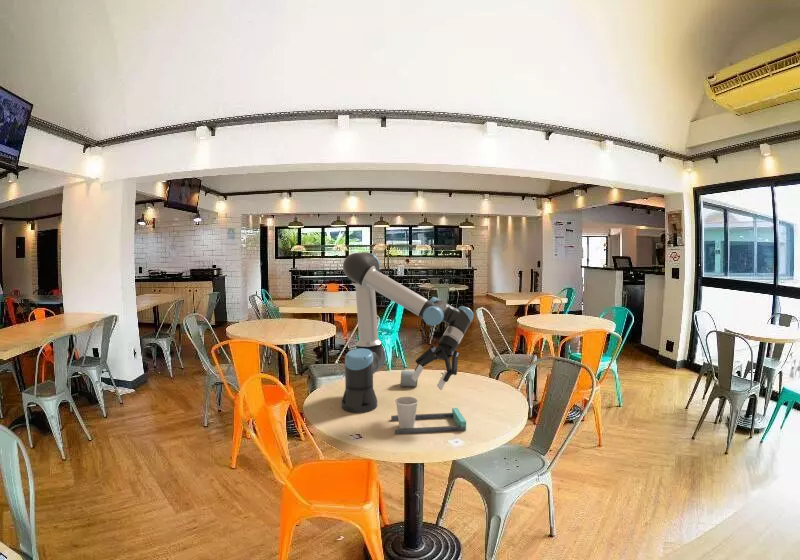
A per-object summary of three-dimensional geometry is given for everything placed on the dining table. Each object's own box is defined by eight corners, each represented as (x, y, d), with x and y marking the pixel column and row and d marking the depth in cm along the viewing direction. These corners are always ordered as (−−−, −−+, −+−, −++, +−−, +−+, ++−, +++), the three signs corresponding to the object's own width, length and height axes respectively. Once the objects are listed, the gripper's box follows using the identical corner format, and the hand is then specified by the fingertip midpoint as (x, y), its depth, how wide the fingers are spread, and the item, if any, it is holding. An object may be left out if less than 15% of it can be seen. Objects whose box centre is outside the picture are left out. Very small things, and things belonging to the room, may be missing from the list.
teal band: (460, 430, 162) (460, 421, 161) (452, 416, 175) (452, 407, 175) (466, 430, 162) (466, 421, 162) (457, 416, 175) (457, 407, 175)
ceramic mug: (417, 388, 208) (417, 372, 207) (400, 388, 208) (400, 372, 208) (417, 382, 218) (418, 366, 218) (401, 381, 219) (401, 366, 218)
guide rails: (394, 434, 159) (394, 430, 159) (391, 419, 172) (391, 415, 172) (464, 430, 162) (464, 426, 162) (455, 416, 175) (456, 412, 175)
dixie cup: (404, 419, 172) (404, 394, 171) (422, 425, 166) (422, 399, 166) (391, 426, 165) (391, 400, 164) (408, 432, 160) (408, 406, 159)
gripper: (479, 350, 174) (455, 396, 165) (432, 340, 192) (408, 381, 182) (471, 339, 170) (446, 386, 160) (424, 330, 187) (398, 371, 178)
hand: (425, 383), depth 171 cm, fingers open, 13 cm apart
